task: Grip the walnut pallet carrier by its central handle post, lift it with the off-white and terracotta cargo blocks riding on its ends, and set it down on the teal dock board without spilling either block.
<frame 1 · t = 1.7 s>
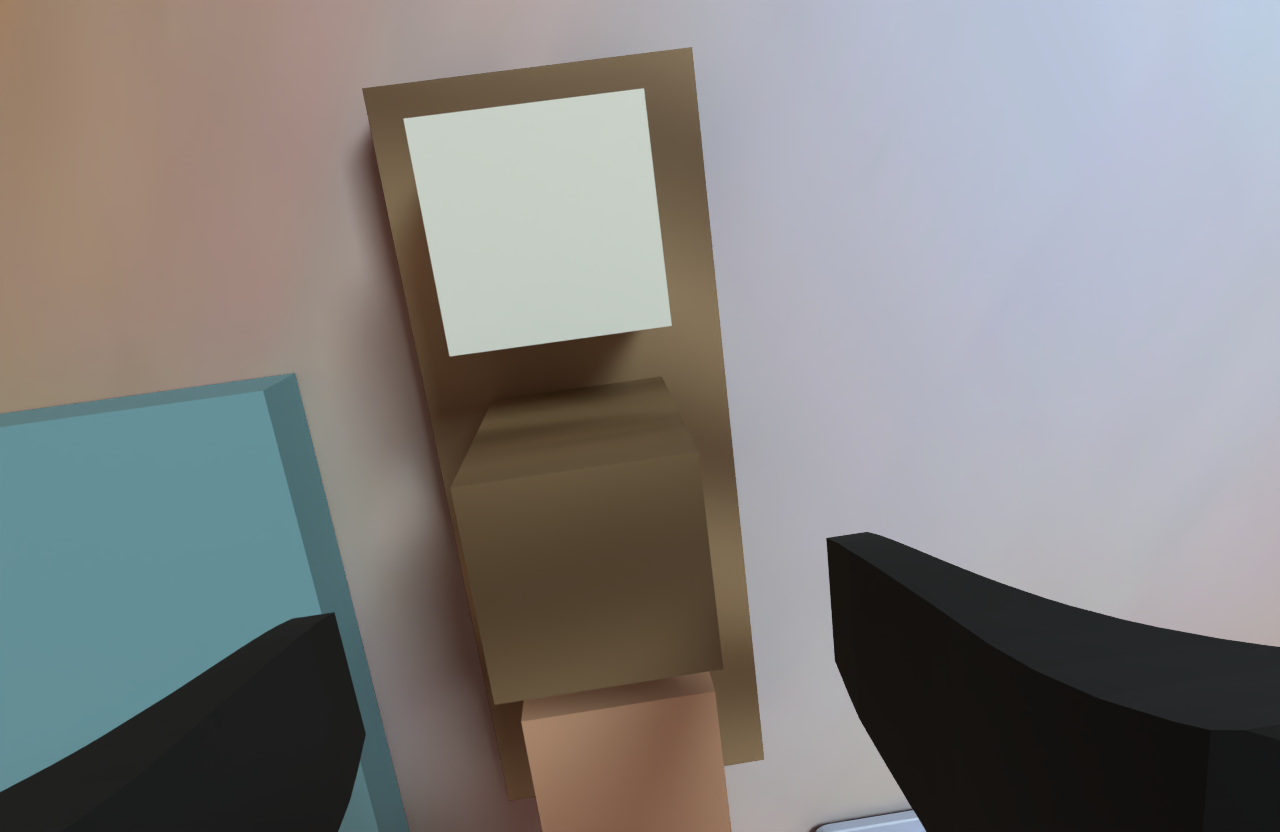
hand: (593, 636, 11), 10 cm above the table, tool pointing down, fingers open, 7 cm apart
carrier: (588, 442, 21), on the table, touching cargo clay, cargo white
dock: (184, 745, 22), on the table
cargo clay: (621, 678, 20), point 2 cm above the table, touching carrier
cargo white: (552, 224, 17), point 2 cm above the table, touching carrier
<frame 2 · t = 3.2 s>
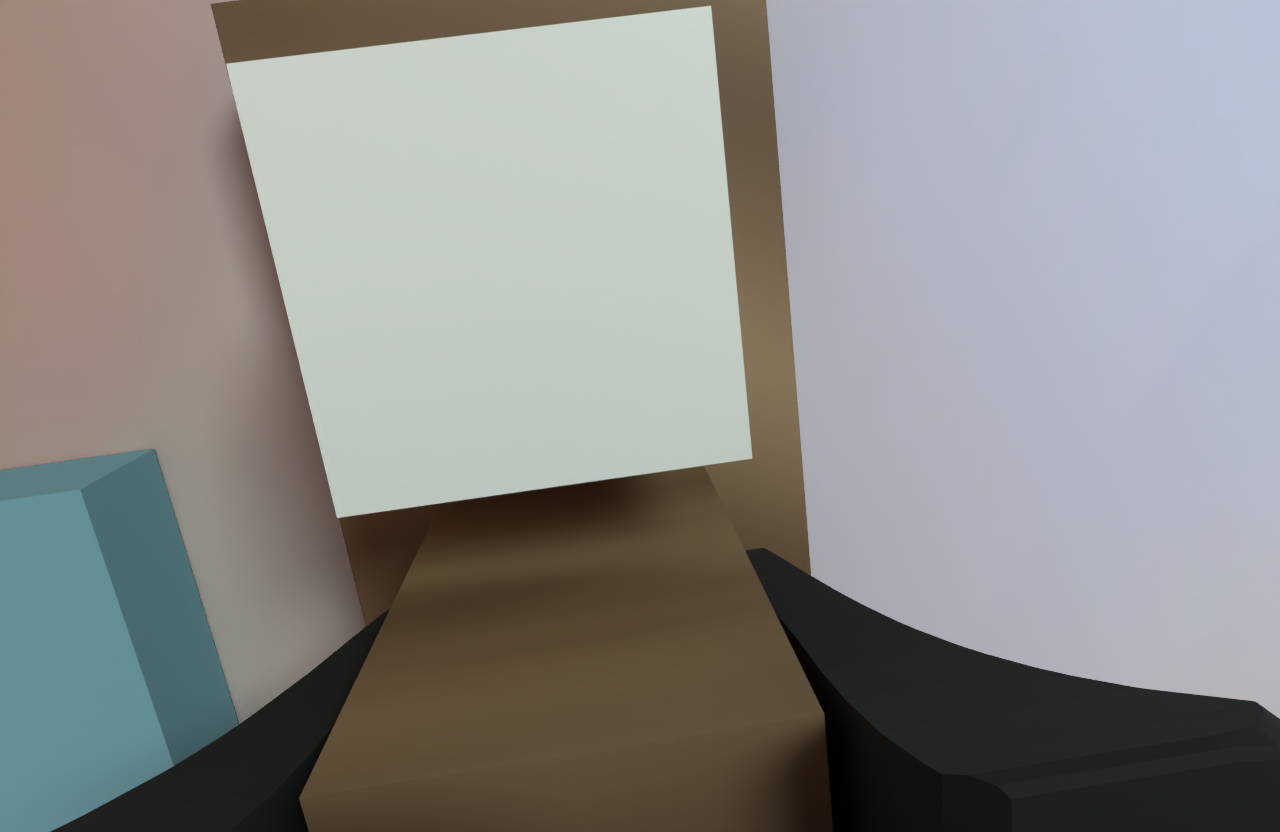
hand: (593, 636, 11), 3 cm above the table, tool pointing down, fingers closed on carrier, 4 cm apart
carrier: (590, 545, 14), on the table, touching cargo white, gripper
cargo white: (536, 255, 11), point 2 cm above the table, touching carrier
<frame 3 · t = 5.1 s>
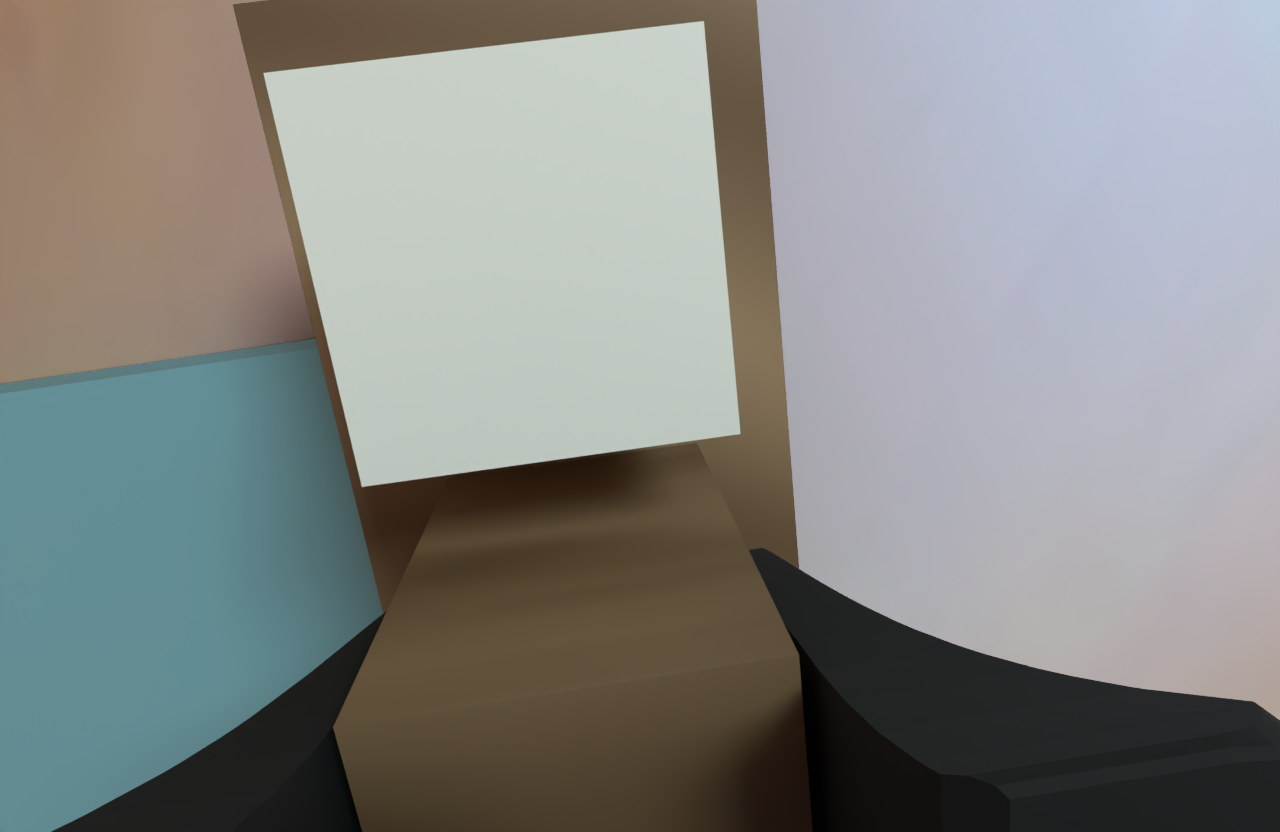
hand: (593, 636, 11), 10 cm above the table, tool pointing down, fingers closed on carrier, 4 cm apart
carrier: (589, 520, 15), point 6 cm above the table, touching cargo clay, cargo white, gripper
dock: (232, 707, 22), on the table
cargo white: (541, 244, 11), point 8 cm above the table, touching carrier
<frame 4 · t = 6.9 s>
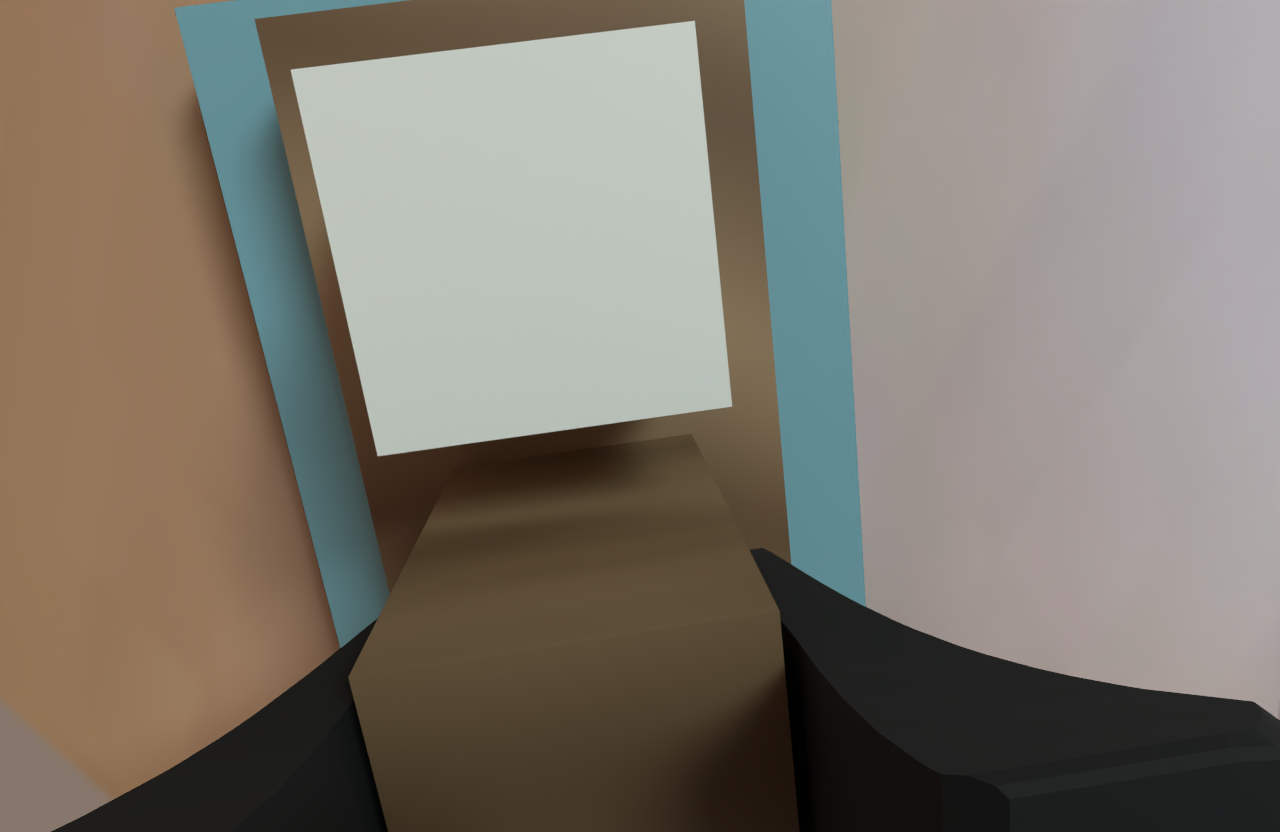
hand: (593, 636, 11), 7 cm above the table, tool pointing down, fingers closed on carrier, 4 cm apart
carrier: (589, 512, 16), point 2 cm above the table, touching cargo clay, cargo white, dock, gripper
dock: (590, 484, 18), on the table
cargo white: (545, 238, 12), point 4 cm above the table, touching carrier
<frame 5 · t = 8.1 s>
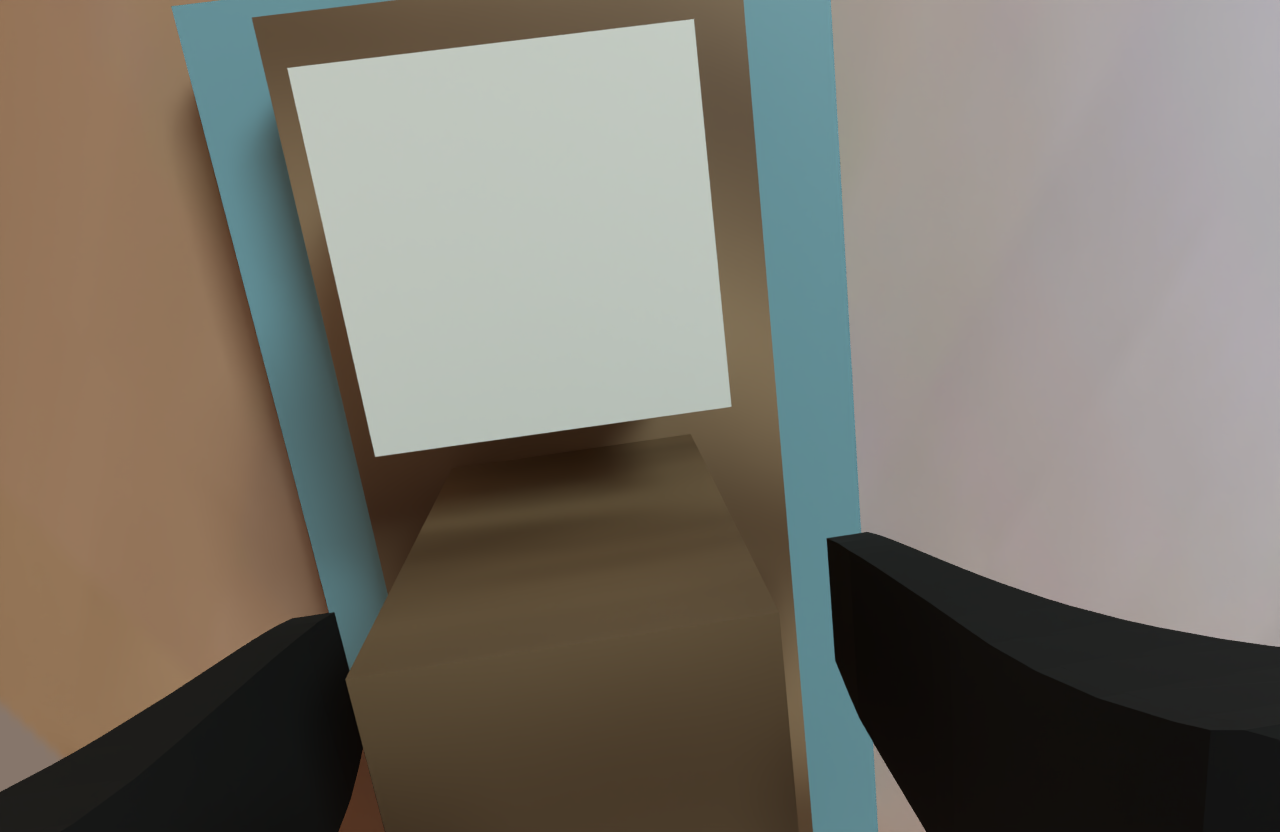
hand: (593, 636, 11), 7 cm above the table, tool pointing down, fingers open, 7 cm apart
carrier: (588, 512, 16), point 2 cm above the table, touching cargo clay, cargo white, dock
dock: (589, 484, 17), on the table
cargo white: (543, 238, 12), point 4 cm above the table, touching carrier
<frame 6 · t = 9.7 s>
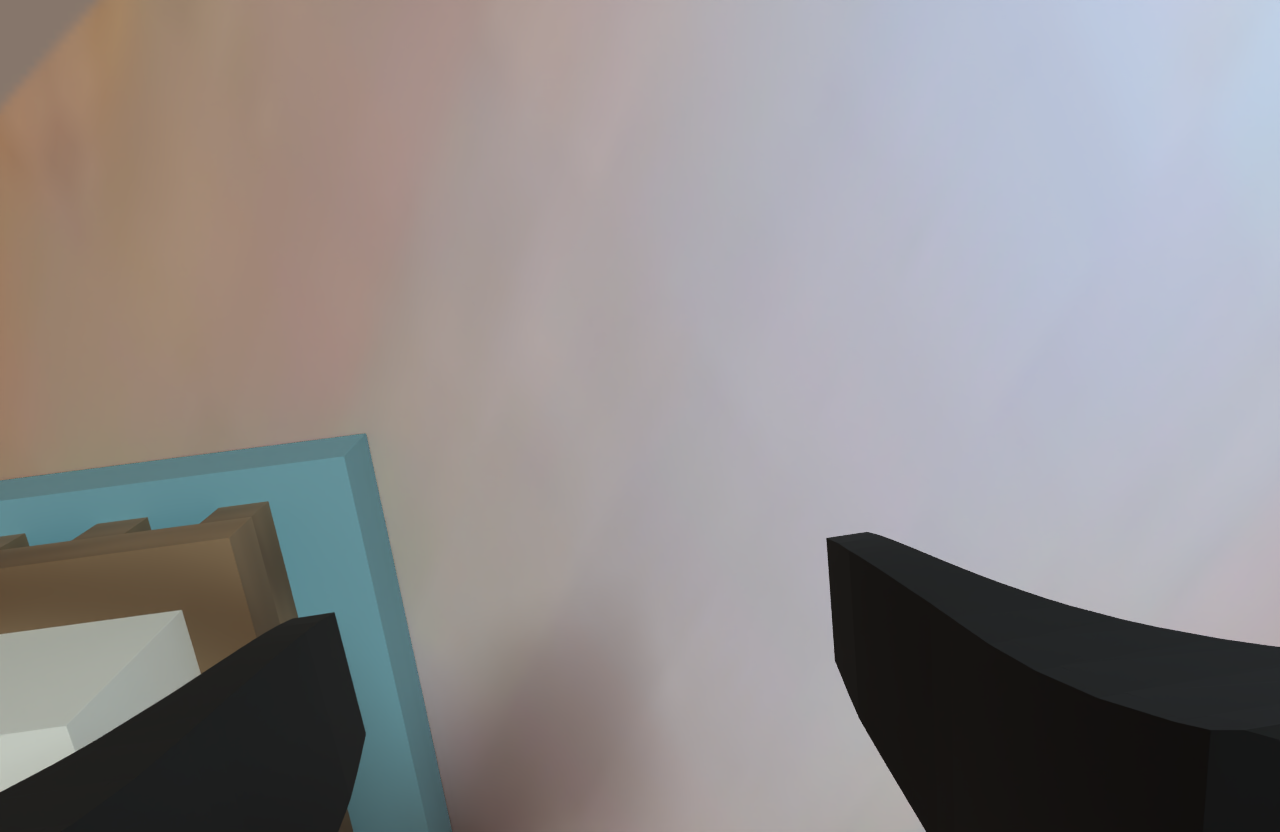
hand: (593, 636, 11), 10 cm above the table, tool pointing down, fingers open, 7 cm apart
carrier: (217, 824, 21), point 2 cm above the table, touching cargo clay, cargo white, dock
dock: (249, 776, 23), on the table
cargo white: (115, 700, 18), point 4 cm above the table, touching carrier
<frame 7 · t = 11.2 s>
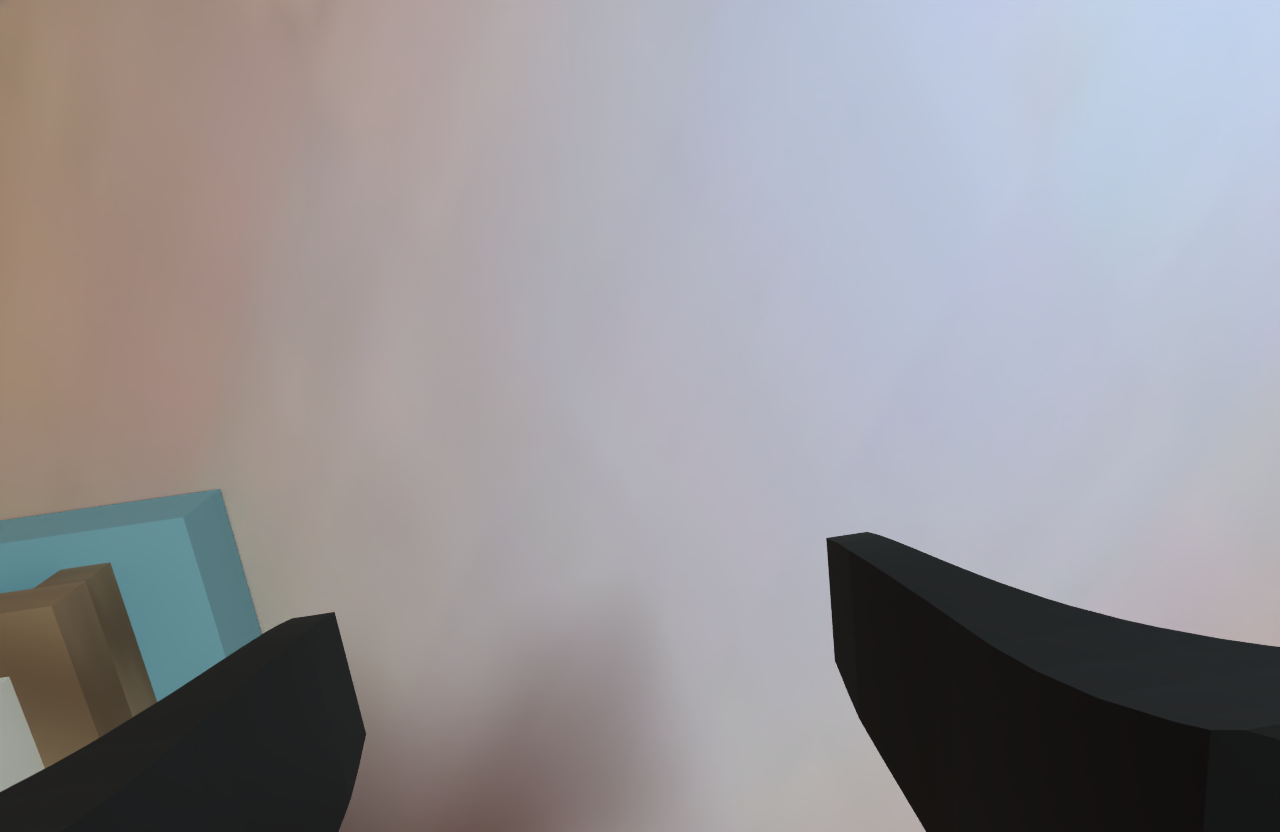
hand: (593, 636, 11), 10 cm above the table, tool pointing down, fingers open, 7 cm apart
dock: (124, 825, 23), on the table
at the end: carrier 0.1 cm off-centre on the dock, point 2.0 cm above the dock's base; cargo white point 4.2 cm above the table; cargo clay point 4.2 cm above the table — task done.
